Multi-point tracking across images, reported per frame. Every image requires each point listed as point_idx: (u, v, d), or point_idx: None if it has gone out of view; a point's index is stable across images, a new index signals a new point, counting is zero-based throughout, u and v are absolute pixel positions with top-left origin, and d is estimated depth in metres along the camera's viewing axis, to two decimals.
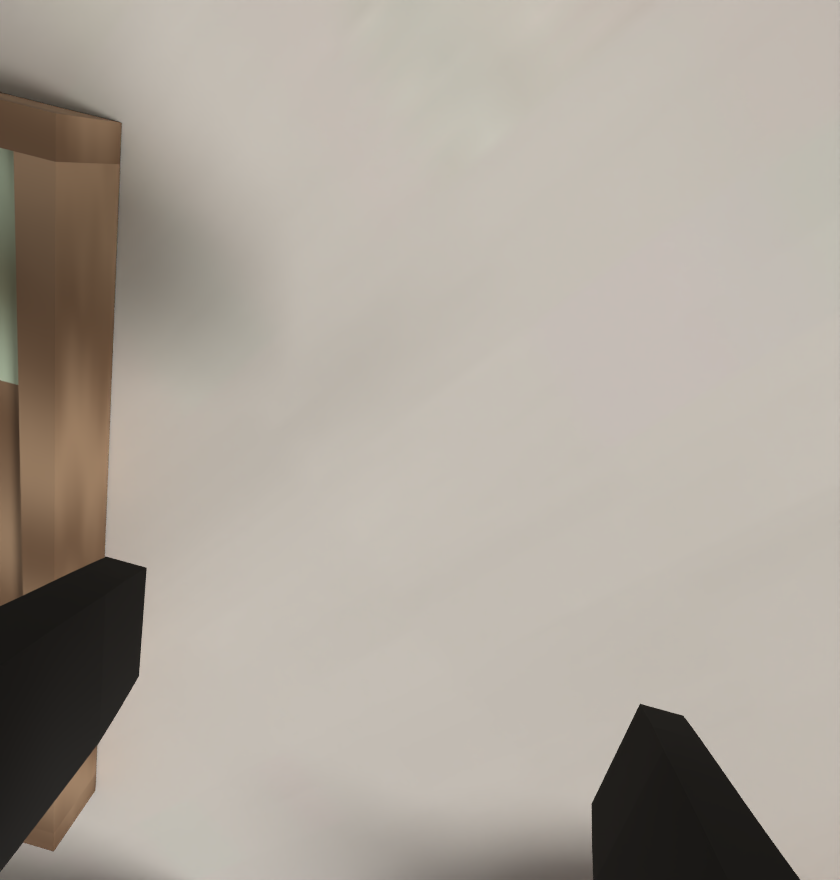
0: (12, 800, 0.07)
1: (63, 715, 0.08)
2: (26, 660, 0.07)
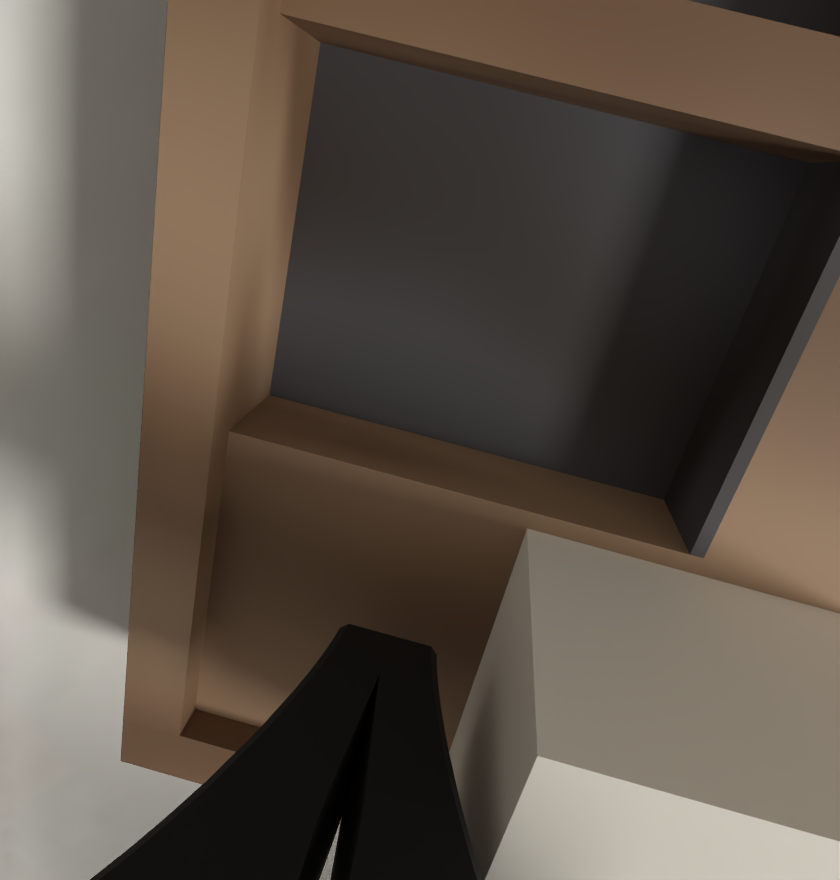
0: None
1: (342, 794, 0.08)
2: (348, 751, 0.07)
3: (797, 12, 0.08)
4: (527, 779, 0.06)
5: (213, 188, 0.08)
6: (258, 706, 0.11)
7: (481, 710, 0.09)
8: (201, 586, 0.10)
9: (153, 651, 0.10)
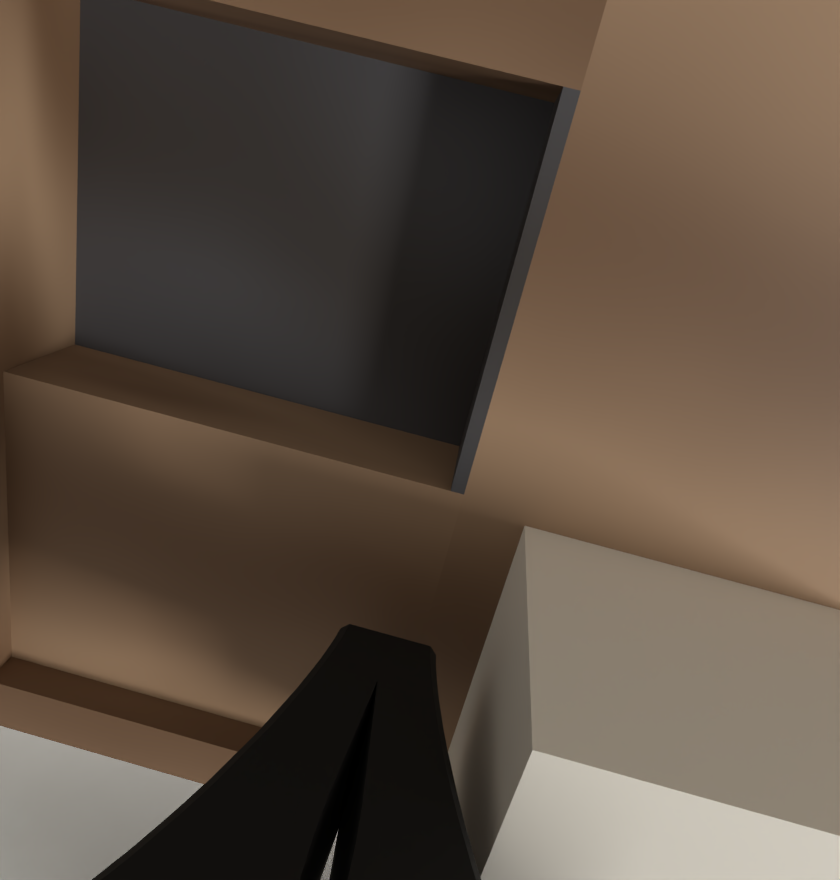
0: None
1: (343, 795, 0.08)
2: (349, 751, 0.07)
3: None
4: (522, 773, 0.06)
5: None
6: (71, 653, 0.11)
7: (479, 707, 0.09)
8: None
9: None
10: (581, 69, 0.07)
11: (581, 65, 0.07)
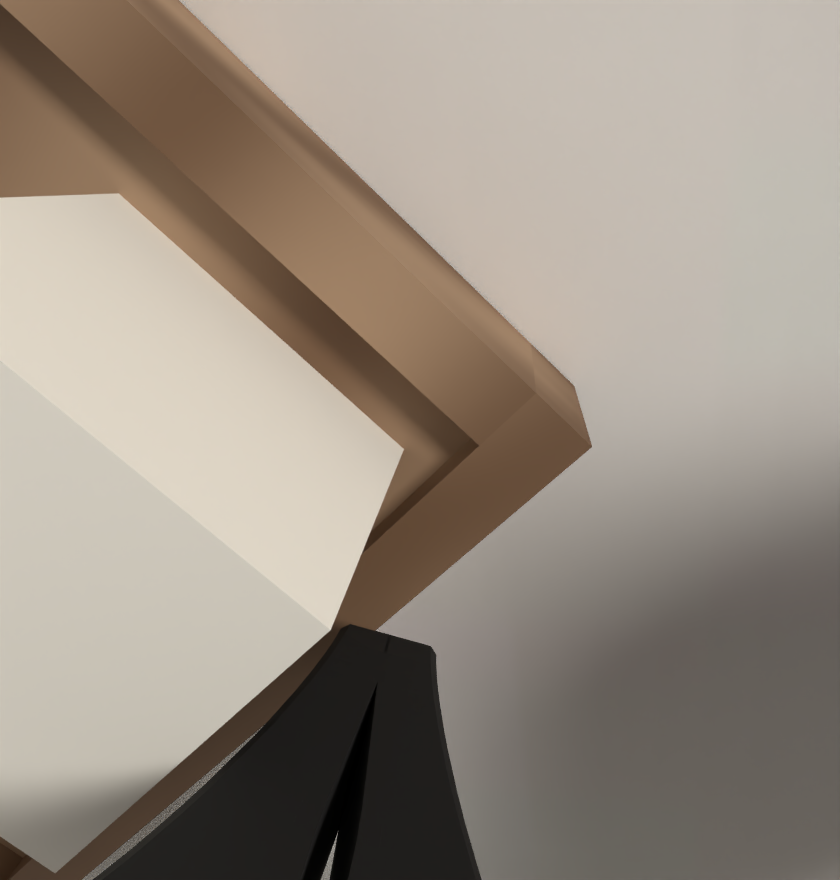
0: None
1: (343, 795, 0.08)
2: (350, 752, 0.07)
3: None
4: None
5: None
6: None
7: None
8: None
9: None
10: None
11: None
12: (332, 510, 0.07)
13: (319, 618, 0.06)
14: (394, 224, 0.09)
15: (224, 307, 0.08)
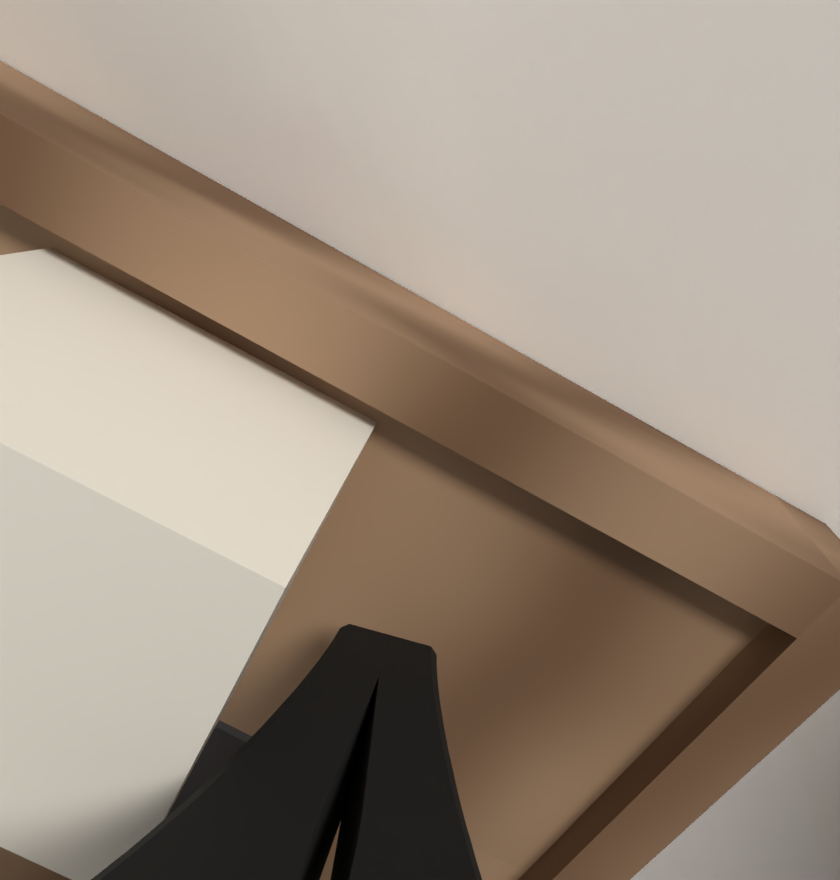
0: None
1: (342, 795, 0.08)
2: (348, 751, 0.07)
3: None
4: None
5: None
6: None
7: None
8: None
9: None
10: None
11: None
12: (288, 483, 0.07)
13: (273, 579, 0.05)
14: (644, 437, 0.10)
15: (166, 326, 0.08)
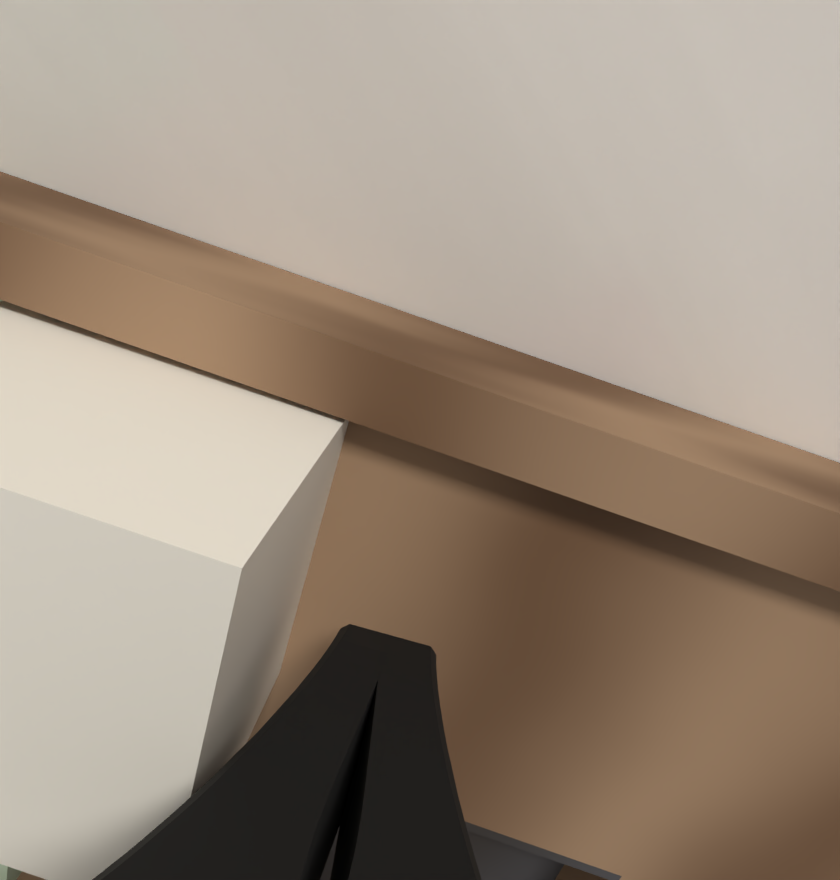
0: None
1: (343, 795, 0.08)
2: (349, 751, 0.07)
3: None
4: None
5: None
6: None
7: None
8: None
9: None
10: None
11: None
12: (251, 475, 0.07)
13: (230, 562, 0.05)
14: None
15: (130, 351, 0.09)
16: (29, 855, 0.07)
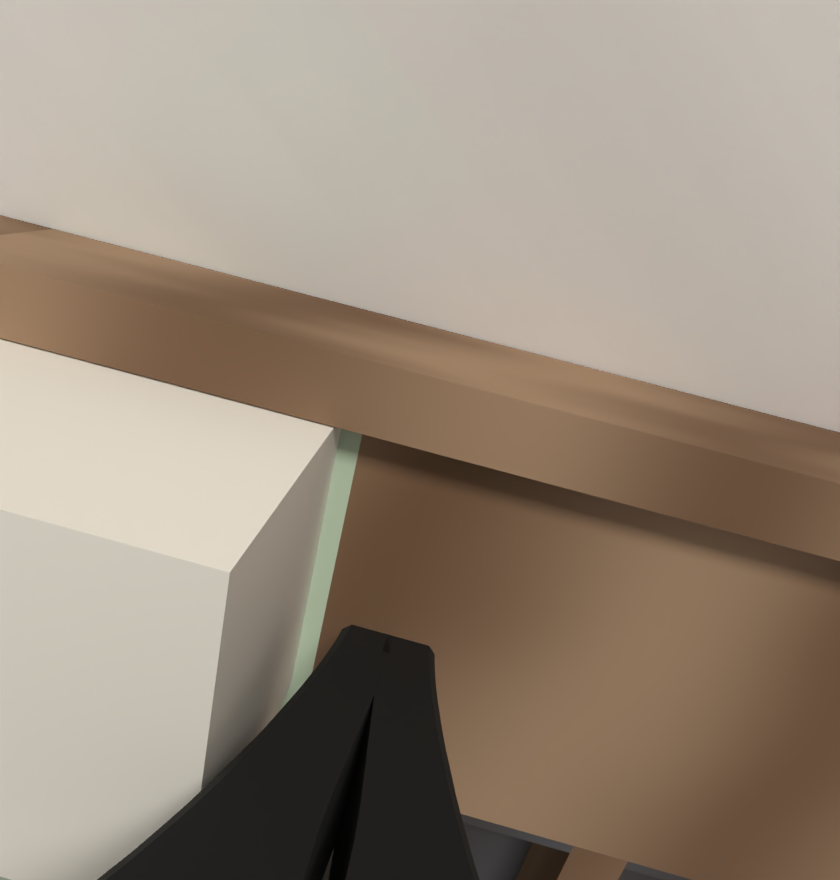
0: None
1: (345, 795, 0.08)
2: (352, 752, 0.07)
3: None
4: None
5: None
6: None
7: None
8: None
9: None
10: (616, 860, 0.12)
11: (613, 860, 0.12)
12: (241, 482, 0.07)
13: (217, 567, 0.05)
14: None
15: None
16: (46, 872, 0.07)
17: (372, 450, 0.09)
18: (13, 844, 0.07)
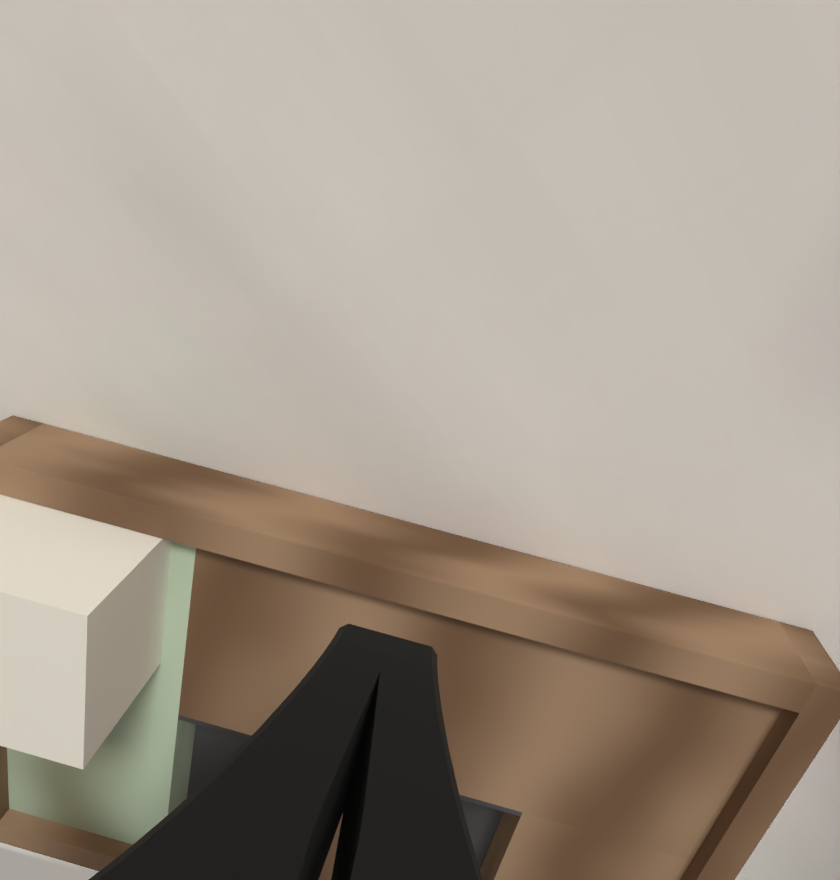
0: None
1: (342, 794, 0.08)
2: (347, 751, 0.07)
3: None
4: None
5: None
6: None
7: None
8: None
9: None
10: None
11: None
12: (104, 573, 0.16)
13: (83, 614, 0.15)
14: (695, 616, 0.18)
15: None
16: (23, 743, 0.17)
17: (202, 549, 0.18)
18: (8, 730, 0.16)
